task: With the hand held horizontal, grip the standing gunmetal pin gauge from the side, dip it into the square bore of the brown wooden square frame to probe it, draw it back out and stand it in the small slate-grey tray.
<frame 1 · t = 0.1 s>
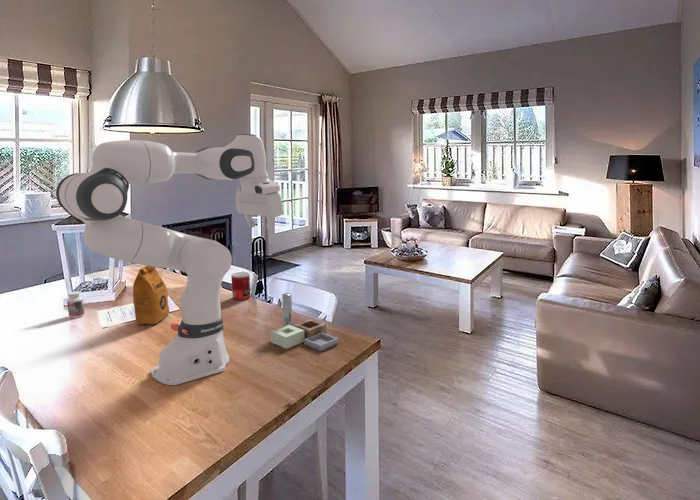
hand: (260, 228, 148), 39 cm above the table, tool pointing down, fingers open, 8 cm apart
pin gauge: (288, 331, 163), on the table
pill bottle: (77, 316, 181), on the table
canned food: (241, 298, 202), on the table
sage block: (288, 341, 154), on the table
coffee package: (153, 321, 175), on the table
brown wooden square frame: (310, 335, 160), on the table
tray: (321, 344, 152), on the table
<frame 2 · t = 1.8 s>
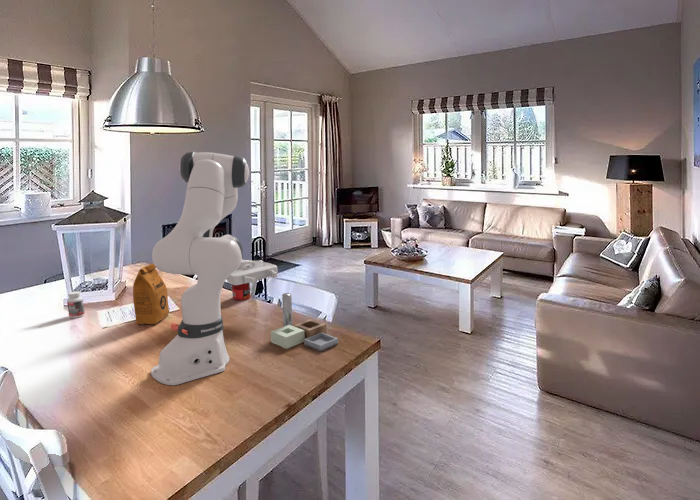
hand: (265, 277, 168), 18 cm above the table, tool horizontal, fingers open, 8 cm apart
nothing on the table moved.
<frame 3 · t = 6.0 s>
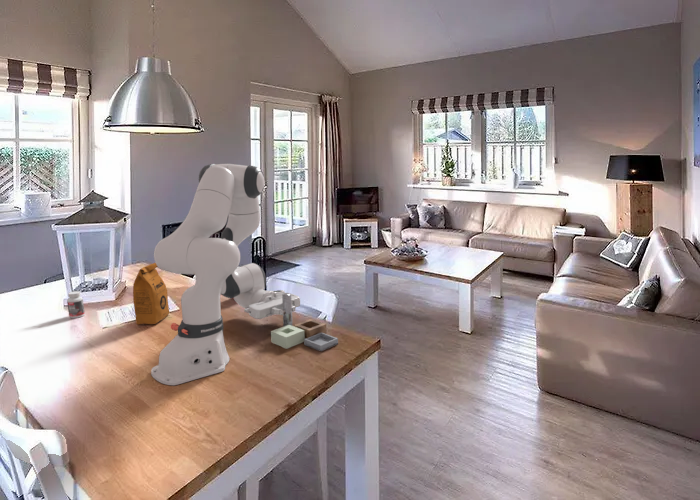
hand: (289, 311, 161), 8 cm above the table, tool horizontal, fingers closed on pin gauge, 3 cm apart
pin gauge: (288, 331, 163), on the table, touching gripper
everything else where it was.
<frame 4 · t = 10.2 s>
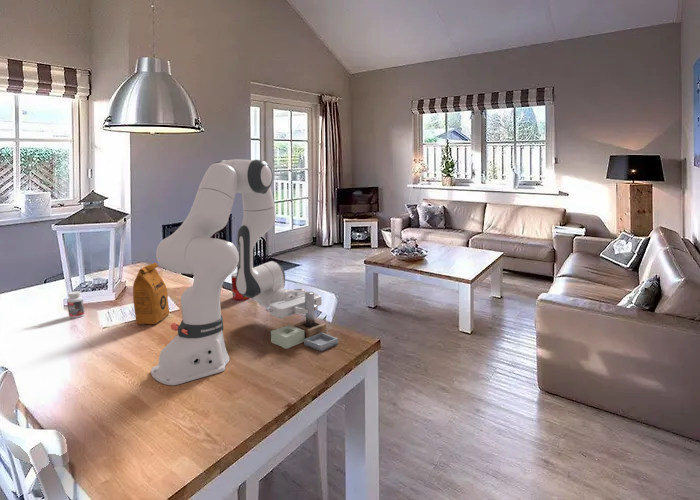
hand: (311, 310, 157), 10 cm above the table, tool horizontal, fingers closed on pin gauge, 3 cm apart
pin gauge: (310, 331, 160), point 1 cm above the table, touching gripper
everything else where it was.
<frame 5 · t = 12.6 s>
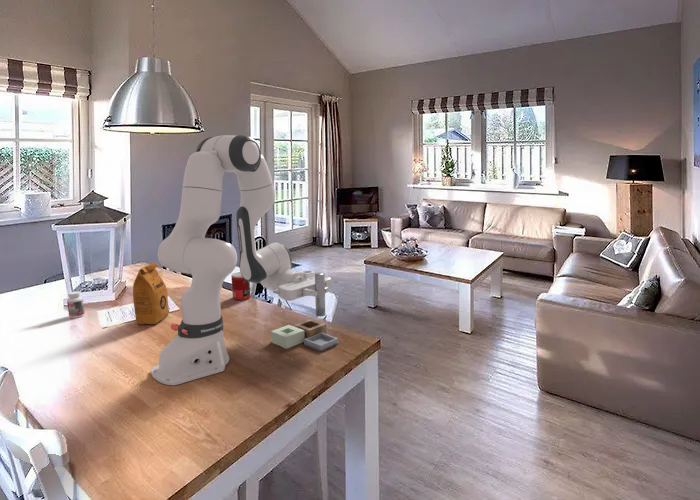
hand: (322, 292, 148), 18 cm above the table, tool horizontal, fingers closed on pin gauge, 3 cm apart
pin gauge: (320, 314, 150), point 10 cm above the table, touching gripper
everything else where it was.
when the fingers open (10 cm above the table, at t = 14.6 s): pin gauge drops 1 cm, resting on tray.
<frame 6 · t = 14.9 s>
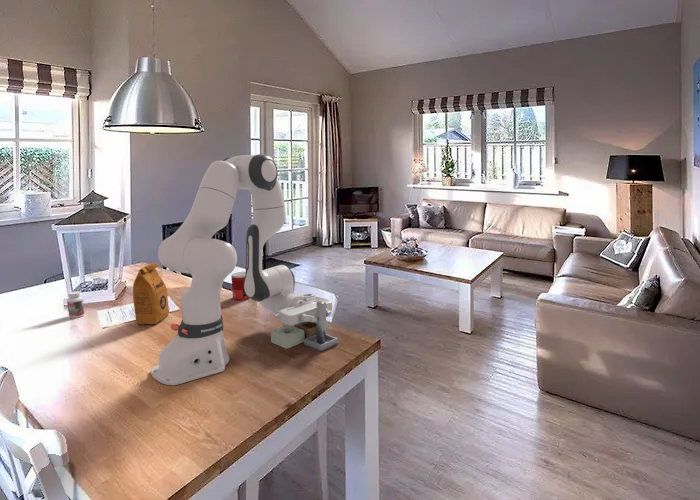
hand: (322, 316, 150), 10 cm above the table, tool horizontal, fingers open, 5 cm apart
pin gauge: (321, 342, 152), point 1 cm above the table, touching tray
everything else where it was.
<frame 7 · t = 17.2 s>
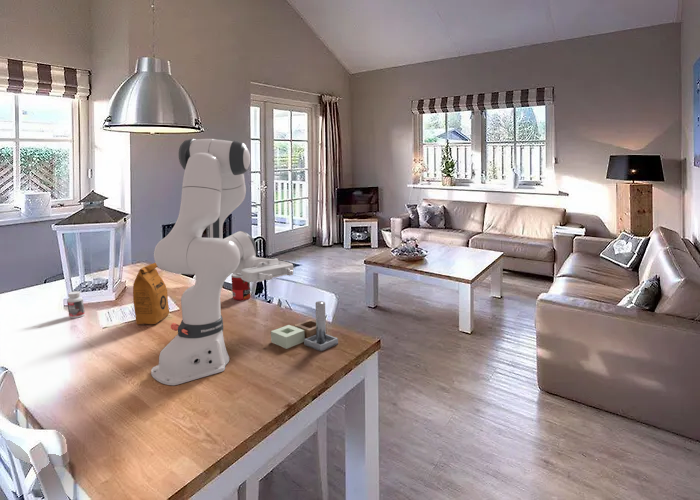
hand: (281, 275, 160), 21 cm above the table, tool horizontal, fingers open, 8 cm apart
nothing on the table moved.
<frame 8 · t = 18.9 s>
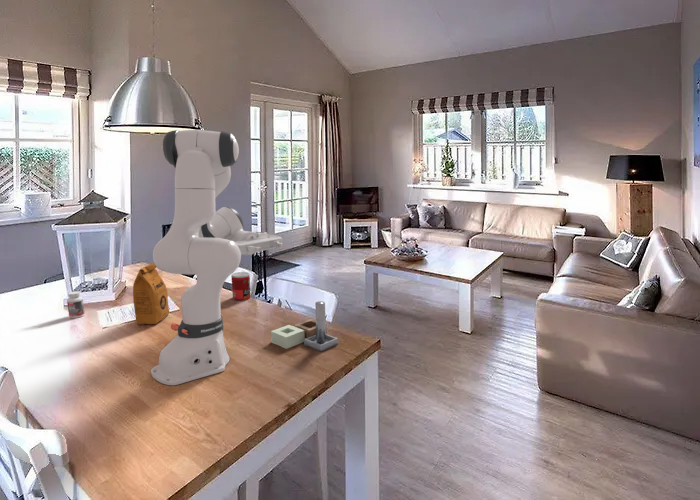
hand: (270, 247, 161), 30 cm above the table, tool horizontal, fingers open, 8 cm apart
nothing on the table moved.
at the end: pin gauge 0.0 cm off-centre on the tray, point 0.6 cm above the tray's base; pin gauge tilted 0°; the gripper is holding nothing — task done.
